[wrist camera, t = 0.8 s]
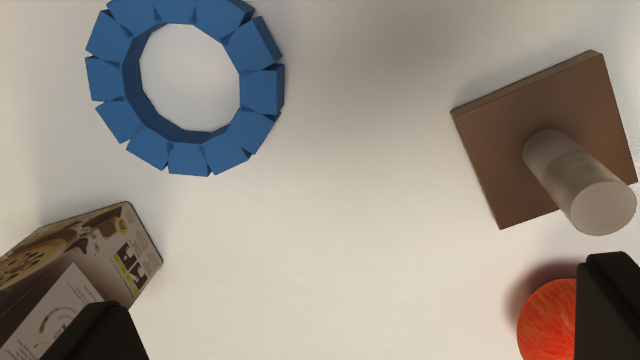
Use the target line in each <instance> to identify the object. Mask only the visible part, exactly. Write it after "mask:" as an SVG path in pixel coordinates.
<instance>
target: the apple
mask: <svg viewBox="0 0 640 360" xmlns="http://www.w3.org/2000/svg"><path fill="white" fill-rule="evenodd" d="M575 306H576V279H574V278H567V279H557V280H553V281H551V282H548V283H546V284H545V285H543V286H541V287H540V288H538V289H537V290H536V291H535V292H534V293H533V294H532V295H531V296H530V297H529V298H528V299H527V301H526V302H525V304H524V306H523V308H522V310H521V312H520V314H519V317H518V321H517V342H518V347H519V350H520V353H521V355H522V357H523V359H524V360H574V337H575Z"/></svg>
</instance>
